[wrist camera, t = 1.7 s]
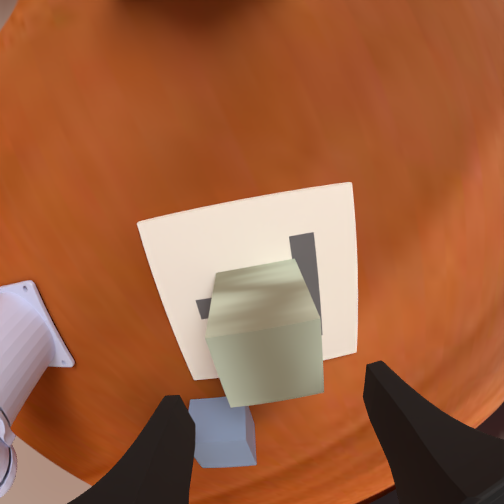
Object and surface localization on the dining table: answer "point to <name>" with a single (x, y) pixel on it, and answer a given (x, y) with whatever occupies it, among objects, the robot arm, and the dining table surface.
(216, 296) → the green block
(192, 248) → the letter card
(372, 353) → the dining table surface
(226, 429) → the blue cube
